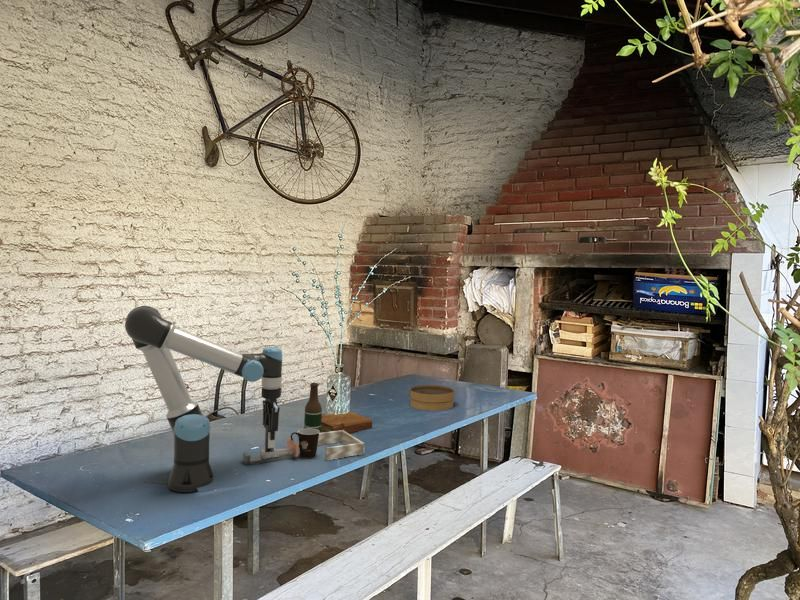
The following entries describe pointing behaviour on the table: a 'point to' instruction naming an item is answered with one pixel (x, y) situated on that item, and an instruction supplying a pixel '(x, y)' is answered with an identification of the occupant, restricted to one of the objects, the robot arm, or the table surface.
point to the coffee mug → (307, 442)
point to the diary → (345, 423)
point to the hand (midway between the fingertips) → (269, 445)
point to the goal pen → (349, 449)
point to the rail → (259, 459)
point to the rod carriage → (273, 452)
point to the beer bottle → (313, 410)
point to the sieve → (431, 397)
